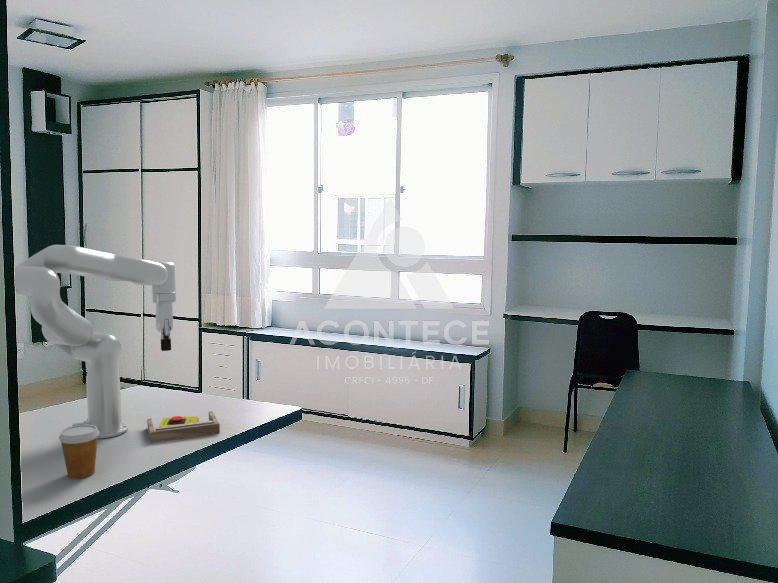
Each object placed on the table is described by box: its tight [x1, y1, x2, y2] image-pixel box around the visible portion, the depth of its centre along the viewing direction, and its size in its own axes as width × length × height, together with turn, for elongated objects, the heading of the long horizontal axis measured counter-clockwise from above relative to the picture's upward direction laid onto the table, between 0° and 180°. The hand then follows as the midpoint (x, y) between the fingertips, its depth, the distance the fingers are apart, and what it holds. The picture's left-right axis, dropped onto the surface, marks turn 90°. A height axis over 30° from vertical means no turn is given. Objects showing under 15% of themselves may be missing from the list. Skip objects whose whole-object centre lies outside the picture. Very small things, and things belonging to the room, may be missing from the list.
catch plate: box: [155, 420, 213, 431], centre depth 192 cm, size 1×17×3 cm, turn 115°
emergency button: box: [159, 415, 200, 427], centre depth 197 cm, size 9×4×15 cm
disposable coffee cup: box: [58, 425, 99, 480], centre depth 161 cm, size 10×10×12 cm
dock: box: [146, 411, 221, 443], centre depth 196 cm, size 14×20×3 cm
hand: (166, 350), depth 213 cm, fingers closed
